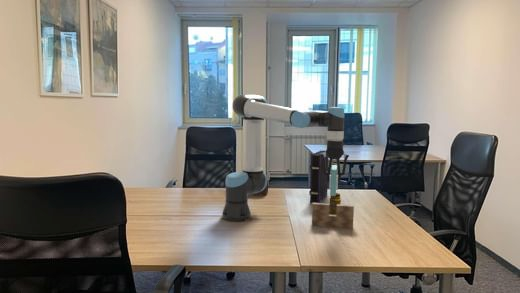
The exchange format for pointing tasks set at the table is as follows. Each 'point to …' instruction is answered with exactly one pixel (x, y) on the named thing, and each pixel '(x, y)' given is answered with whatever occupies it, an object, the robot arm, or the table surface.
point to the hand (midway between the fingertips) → (333, 189)
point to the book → (318, 177)
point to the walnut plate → (332, 216)
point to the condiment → (334, 204)
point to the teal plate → (333, 180)
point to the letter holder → (263, 191)
